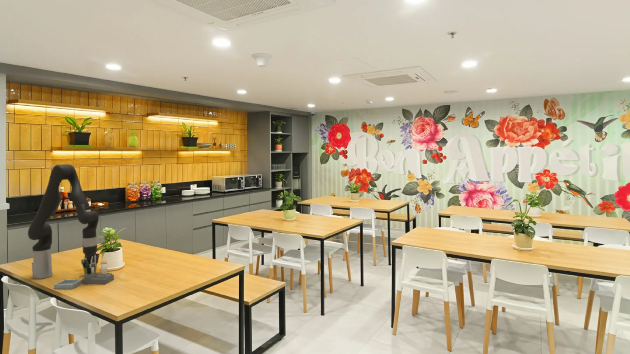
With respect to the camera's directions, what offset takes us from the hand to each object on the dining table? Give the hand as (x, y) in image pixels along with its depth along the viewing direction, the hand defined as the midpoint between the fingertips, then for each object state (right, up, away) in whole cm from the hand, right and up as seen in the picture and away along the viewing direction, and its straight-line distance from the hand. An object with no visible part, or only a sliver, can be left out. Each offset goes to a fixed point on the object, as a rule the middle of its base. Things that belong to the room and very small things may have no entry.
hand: (91, 272), depth 225 cm
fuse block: (+4, -5, 0) cm, 7 cm away
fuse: (+8, -2, 0) cm, 8 cm away
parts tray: (-9, -6, -8) cm, 13 cm away
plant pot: (-8, -5, +13) cm, 16 cm away
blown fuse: (0, -2, 0) cm, 2 cm away
